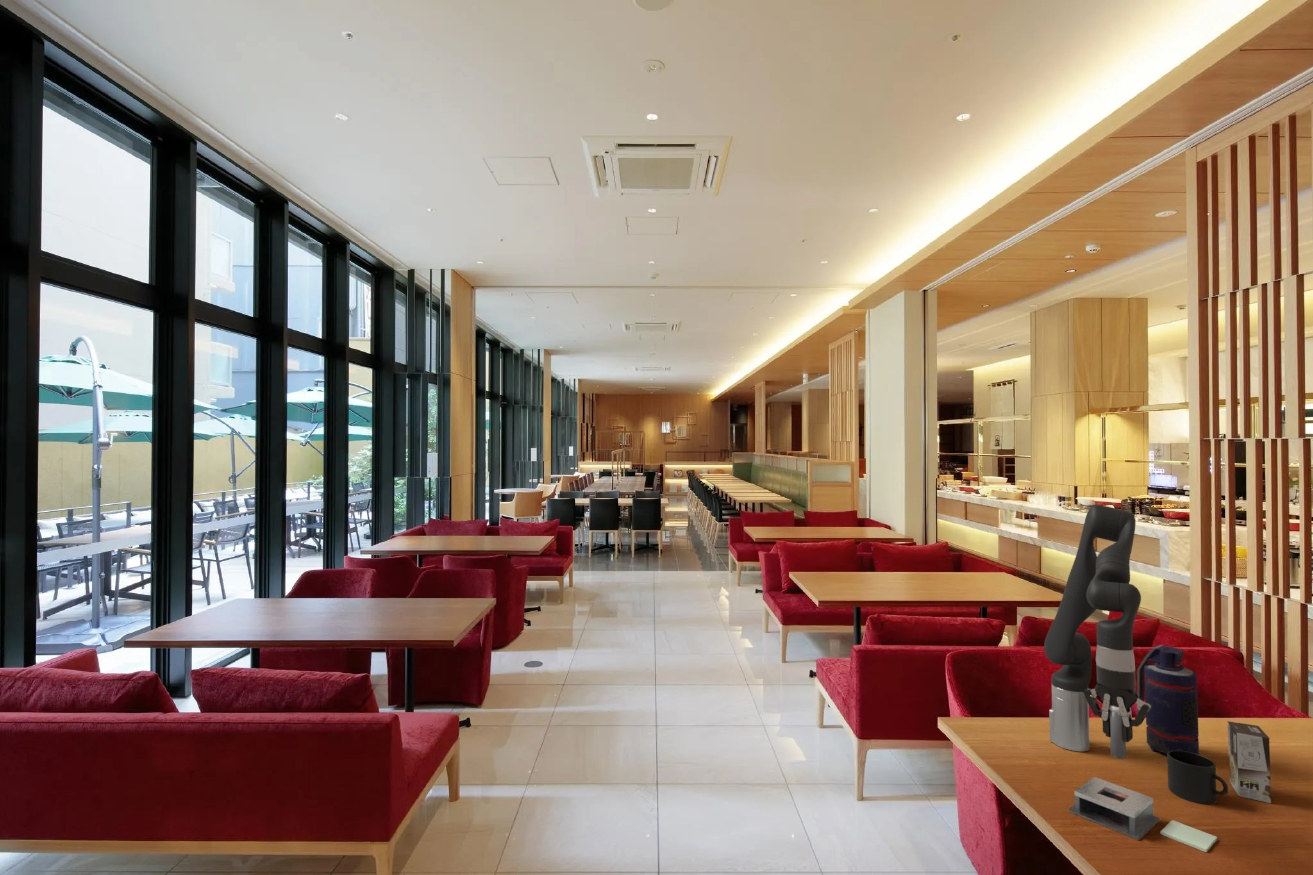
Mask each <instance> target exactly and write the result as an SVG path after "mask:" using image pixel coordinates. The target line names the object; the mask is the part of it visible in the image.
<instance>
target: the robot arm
mask: <svg viewBox="0 0 1313 875" xmlns="http://www.w3.org/2000/svg"><path fill="white" fill-rule="evenodd" d="M1135 531H1136V517H1135V515H1134V514H1133V513H1132V512H1130V511H1128V510H1124V509H1119V508H1115V507H1111V506H1106V505H1102V504H1096V503H1095V504H1092V505H1091V506H1090V507H1089V509H1088V510H1087V512H1086V515H1085V518H1084V523H1083V527H1082V532H1081V535H1080V540H1079V544H1078V548H1077V550H1076V555H1075V557H1074V559H1073V560H1074V561H1073V564H1072V567H1071V569H1070V572H1069V574H1068V578H1067V580H1066V584H1065V587H1064V591H1063V594H1062V596H1061V597H1062V598H1061V600H1060V603H1059V606H1058V609H1057V611H1056V615H1055V617H1054V619H1053V621H1052V622H1051V625H1050V628H1049V630H1048V631H1047V634H1046V637H1045V639H1044V646H1043V647H1044V648H1043V649H1044V654H1045V656H1046V658H1047V659H1048V661H1050V662H1051V663H1052V664H1055V665H1059V666H1062V667H1061V668H1060V669H1058V670H1057V671H1055V672H1053V673H1052V675H1051V679H1050V680H1051V708H1049V711H1048V713H1049V714H1048V715H1049V742H1050V743H1053V744H1055V745H1056V746H1058V747H1059V748H1062V749H1066V750H1068V751H1074V752H1087V751H1089V750H1090V747H1091V746H1090V743H1091V741H1090V711H1091V712H1092V714H1093V715H1094V716H1096V717H1097V716H1098V718H1100V719H1101V721H1102V733H1103V734H1105V737H1107V738H1110V717H1109V708H1110V705H1113V706H1117V707H1119V709H1120V714H1121V716H1122V719H1123V724H1124V726H1123V741H1124V742H1126V743H1129V742H1130V741H1131V740H1133V737H1134V734H1133V727H1136V728H1137V727H1139V726H1140V725H1142V724H1143V722H1144V721H1145V720H1146V716H1147V714H1148V712H1149V711H1150V709H1151V707H1152V705H1151V704H1150V703H1146V702H1145V701H1144V702H1143V701H1142V700H1140V699H1139V698H1138V695H1137V690H1136V689H1137V687H1136V686H1137V685H1136V665H1135V664H1136V660H1135V654H1134V639H1133V633H1134V625H1135V620H1136V616H1137V615H1138V611H1139V608H1140V605H1141V601H1142V594H1141V592H1140V590H1139V589H1138V588H1137V587H1136V586H1135V585H1134V584H1132V583H1130V582H1131V570H1130V567H1131V566H1130V561H1131V554H1132V550H1133V544H1134V539H1135V533H1136V532H1135ZM1096 538H1097V539H1101V540H1105V541H1109V542H1114V543H1113V544H1110V545H1108V546H1107V547H1105V548H1103V549H1102V550H1101V551H1100V552H1099V553H1098V555H1097V553H1096V550H1095V549H1096V548H1095V539H1096ZM1096 610H1099V611H1106V612H1113V613H1122V614H1121V616H1119V617H1118V618H1115V619H1103V620H1099V621H1098V622H1097V623H1096V649H1095V650H1096V652H1095V654H1096V655H1095V662H1096V664H1095V665H1096V685H1095V686H1094V688H1090V687H1089V684H1090V682H1091V680H1092V667H1093V666H1092V663H1093V662H1092V660H1093V652H1092V647H1091V644H1090V641H1089V639H1088V638H1087V637H1086V636H1085V635H1083V633H1080V632H1077V631H1078V629H1079V628H1080V627H1081V625H1082V624H1083V623H1084V622H1086V620H1087V619H1089V617H1090V616H1092V614H1093V613H1095V612H1096ZM1097 696H1098V697H1099V698H1100V699H1101V701H1102V707H1101V706H1100V704H1099V702H1098V700H1097ZM1134 705H1138V706H1136V707H1137V708H1138V710H1140V711H1139V712H1138V714H1137V713H1136V716H1135V717H1134V719H1133V716H1132V715H1133V714H1132V708H1131V707H1133V706H1134ZM1089 708H1090V709H1089ZM1137 708H1136V709H1137Z"/></svg>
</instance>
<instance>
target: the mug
mask: <svg viewBox="0 0 1313 875" xmlns="http://www.w3.org/2000/svg"><path fill="white" fill-rule="evenodd" d="M1166 756H1167V757H1166V758H1167V759H1166V762H1167V763H1166V764H1167V787H1168V789H1169V791H1170V792H1171V793H1173V794H1174V795H1175V796H1177V797H1180V798H1182V799H1184V800H1187V801H1190V802H1193V803H1198V804H1205V805H1209V804H1210V805H1212V804H1214V803H1216V802H1217V800H1218V799H1217V798H1218V796H1224V795H1227V794H1228V793H1229V787H1228V783H1227V782H1226V781H1225V780H1224V779H1223V778H1222V777H1220V776H1218V775H1217V769H1216V768H1217V765H1216V762H1214V761H1213V760H1212V759H1210V758H1208V757H1206V756H1204V755H1201V754H1200V753H1199V754H1195V753H1191V752H1187V751H1180V750H1172V751H1169V752H1168V753H1167V754H1166ZM1217 780H1218V782H1220V783H1221V785H1222V786H1223V788H1222V790H1217ZM1217 795H1218V796H1217Z"/></svg>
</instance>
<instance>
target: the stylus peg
mask: <svg viewBox="0 0 1313 875" xmlns="http://www.w3.org/2000/svg"><path fill="white" fill-rule="evenodd" d="M1109 717H1110V737H1109V743H1110V744H1109V747H1110V750H1109V751H1110V756H1111V757H1113V758H1117V759H1121V760H1125V759H1127V744H1126V743H1127V742H1124V741H1123V726H1124V724H1123V719H1122V716H1121V714H1120V709H1119V707H1117V706H1113V705H1110V708H1109Z"/></svg>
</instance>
